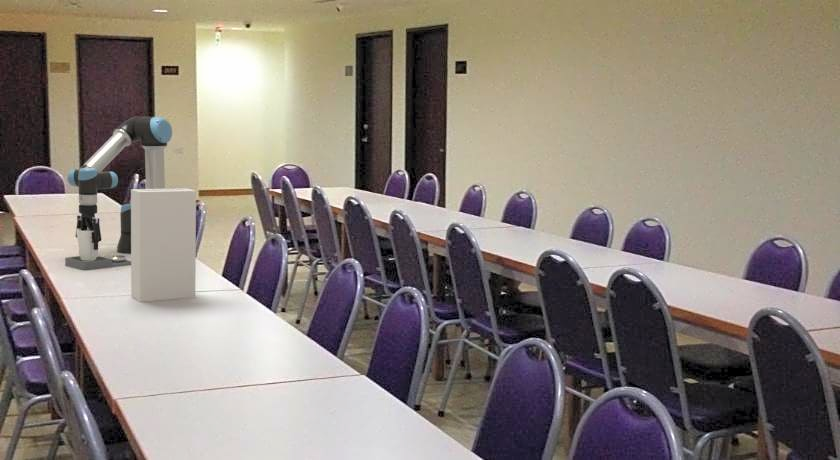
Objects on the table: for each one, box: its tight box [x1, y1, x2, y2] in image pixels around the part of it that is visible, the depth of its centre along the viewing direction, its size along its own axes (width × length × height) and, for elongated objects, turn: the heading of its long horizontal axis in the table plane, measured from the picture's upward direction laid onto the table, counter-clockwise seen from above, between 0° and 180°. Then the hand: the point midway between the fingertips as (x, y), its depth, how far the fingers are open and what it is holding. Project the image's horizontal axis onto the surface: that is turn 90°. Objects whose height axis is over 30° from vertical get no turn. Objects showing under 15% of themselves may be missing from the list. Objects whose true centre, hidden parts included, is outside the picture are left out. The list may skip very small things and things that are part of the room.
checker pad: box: [104, 254, 126, 262], centre depth 423 cm, size 9×9×2 cm
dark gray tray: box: [64, 255, 131, 271], centre depth 418 cm, size 25×15×4 cm, turn 140°
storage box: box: [130, 187, 197, 303], centre depth 353 cm, size 21×10×40 cm, turn 124°
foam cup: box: [75, 227, 96, 260], centre depth 413 cm, size 10×9×13 cm
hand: (88, 255), depth 413 cm, fingers closed on foam cup, 9 cm apart
